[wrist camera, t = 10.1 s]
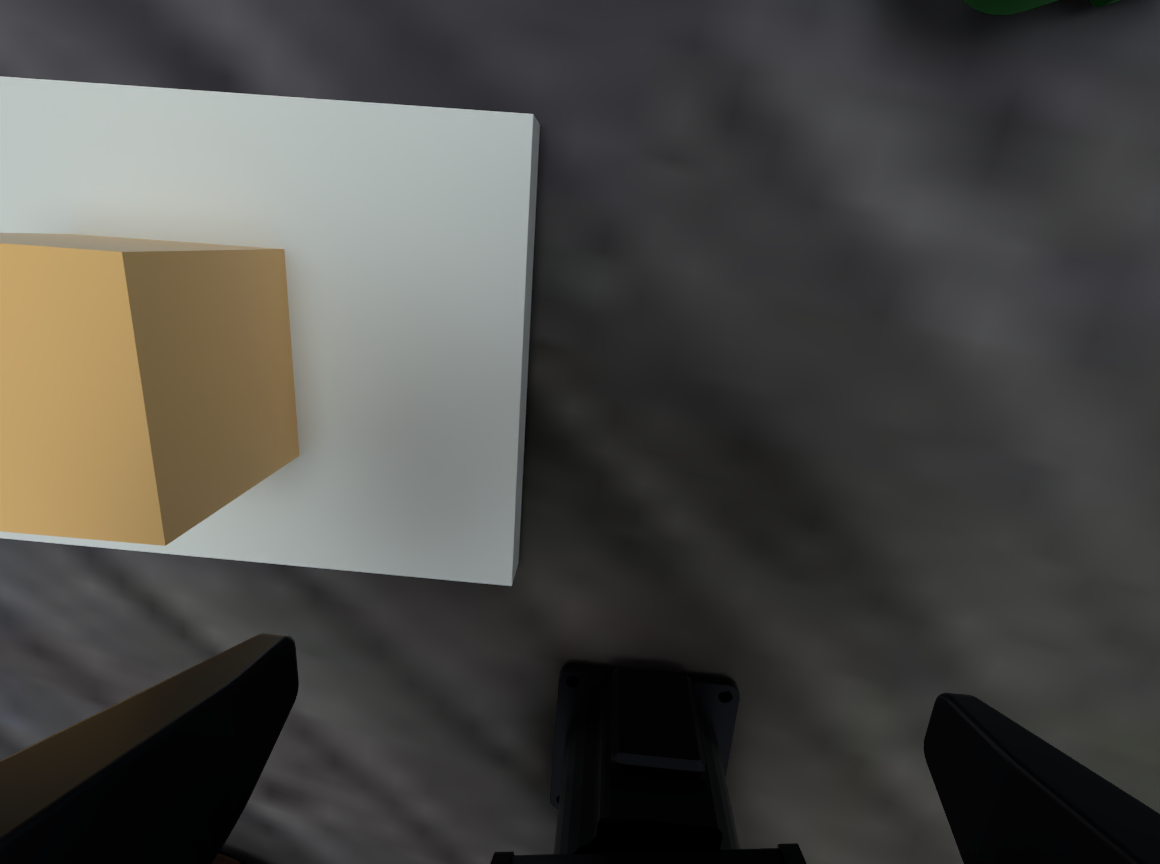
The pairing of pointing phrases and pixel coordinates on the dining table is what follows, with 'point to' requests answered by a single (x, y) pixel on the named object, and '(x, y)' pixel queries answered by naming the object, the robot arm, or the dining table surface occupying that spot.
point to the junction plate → (329, 299)
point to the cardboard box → (138, 383)
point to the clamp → (1018, 5)
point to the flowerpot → (225, 860)
